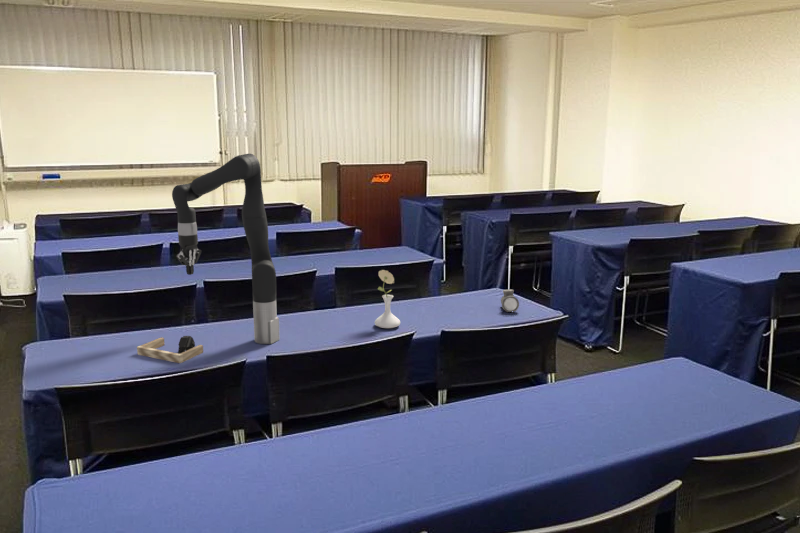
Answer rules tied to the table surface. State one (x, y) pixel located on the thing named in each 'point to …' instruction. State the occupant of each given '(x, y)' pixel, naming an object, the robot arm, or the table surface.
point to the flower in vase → (387, 304)
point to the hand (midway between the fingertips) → (190, 274)
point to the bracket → (151, 351)
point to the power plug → (185, 344)
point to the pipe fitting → (509, 301)
